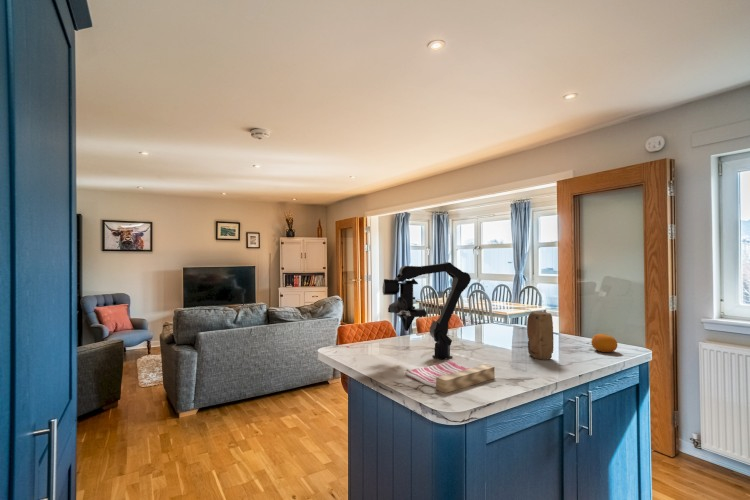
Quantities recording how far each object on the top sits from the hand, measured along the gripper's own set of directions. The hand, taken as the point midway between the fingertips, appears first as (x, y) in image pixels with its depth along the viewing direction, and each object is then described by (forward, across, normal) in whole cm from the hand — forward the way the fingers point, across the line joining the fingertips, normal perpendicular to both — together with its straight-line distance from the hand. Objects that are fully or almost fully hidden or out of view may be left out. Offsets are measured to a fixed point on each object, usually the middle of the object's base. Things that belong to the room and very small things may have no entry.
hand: (406, 330), depth 163 cm
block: (+12, +34, +49) cm, 60 cm away
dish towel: (+13, +26, -6) cm, 29 cm away
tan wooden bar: (+12, +37, -5) cm, 39 cm away
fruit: (+12, +46, +84) cm, 96 cm away
